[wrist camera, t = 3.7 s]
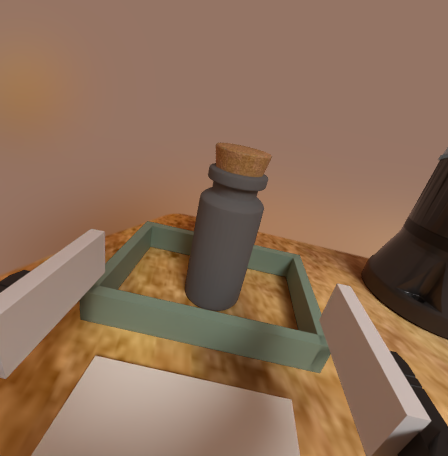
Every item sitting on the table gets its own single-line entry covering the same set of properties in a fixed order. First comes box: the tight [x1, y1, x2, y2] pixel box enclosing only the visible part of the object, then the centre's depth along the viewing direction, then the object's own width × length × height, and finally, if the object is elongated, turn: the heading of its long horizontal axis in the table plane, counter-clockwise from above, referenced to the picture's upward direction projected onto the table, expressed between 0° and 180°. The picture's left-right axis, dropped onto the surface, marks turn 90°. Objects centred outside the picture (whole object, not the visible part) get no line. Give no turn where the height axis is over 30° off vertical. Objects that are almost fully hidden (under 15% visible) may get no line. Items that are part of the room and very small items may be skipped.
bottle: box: [185, 143, 272, 311], centre depth 23 cm, size 6×6×15 cm
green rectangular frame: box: [79, 221, 331, 373], centre depth 26 cm, size 20×14×3 cm
